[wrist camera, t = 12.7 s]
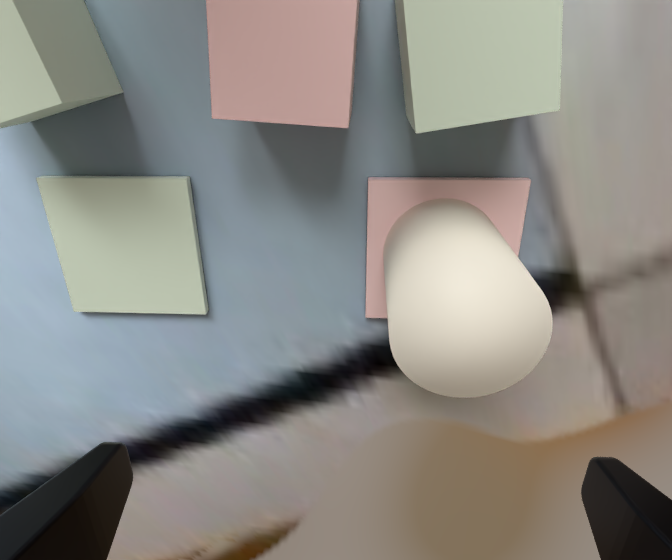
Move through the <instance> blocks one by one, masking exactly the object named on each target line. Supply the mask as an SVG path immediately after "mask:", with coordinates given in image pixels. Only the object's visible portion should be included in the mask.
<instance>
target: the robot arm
mask: <svg viewBox="0 0 672 560" xmlns="http://www.w3.org/2000/svg"><path fill="white" fill-rule="evenodd" d="M132 481H133V471H132V467H131V463H130V459H129V455H128V451H127V448H126V446H125V444H124V443H121V442H103V443H101V444H99V445H98V446H96V447H95V448H94V449H92V450H91V451H89V452H88V453H87V454H85V455H84V456H82V457H81V458H80V459H78V460H77V461H75V462H74V463H73V464H71V465H70V466H68V467H67V468H66V469H64V470H63V471H61V472H60V473H59V474H57V475H56V476H55V477H53V478H52V479H50V480H49V481H48V482H46V483H45V484H43V485H42V486H41V487H39V488H38V489H36V490H35V491H34V492H32V493H31V494H29V495H28V496H27V497H25V498H24V499H22V500H21V501H20V502H18V503H17V504H15V505H14V506H13V507H11V508H10V509H9V510H7V511H6V512H4V513H3V514H2V515H0V560H106V559H107V557H108V554H109V551H110V548H111V545H112V542H113V539H114V536H115V533H116V530H117V527H118V524H119V521H120V518H121V516H122V513H123V510H124V507H125V504H126V501H127V498H128V495H129V492H130V489H131V486H132ZM581 494H582V500H583V504H584V507H585V510H586V513H587V517H588V520H589V523H590V526H591V529H592V533H593V536H594V539H595V542H596V545H597V548H598V552H599V555H600V558H601V560H672V500H671V499H670V498H668V497H667V496H666V495H664V494H663V493H662V492H660V491H659V490H658V489H656V488H655V487H654V486H652V485H651V484H650V483H649V482H647V481H646V480H645V479H643V478H642V477H641V476H639V475H638V474H636V473H635V472H634V471H633V470H631V469H630V468H628V467H627V466H626V465H625V464H623V463H622V462H621V461H619V460H618V459H616V458H612V457H593V458H592V459H591V460H590V462H589V465H588V468H587V471H586V475H585V478H584V481H583V485H582V490H581Z"/></svg>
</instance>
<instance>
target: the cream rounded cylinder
mask: <svg viewBox="0 0 672 560" xmlns="http://www.w3.org/2000/svg"><path fill="white" fill-rule="evenodd" d="M383 263H384V276H385V290H386V303H387V316H388V330H389V342H390V347H391V351H392V354H393V357H394V359H395V361H396V363H397V365H398V366H399V368H400V369H401V370H402V372H403V373H404V374H405V375H406V376H407V377H408V378H409V379H410V380H412V381H413V382H414V383H416V384H417V385H419V386H420V387H422V388H424V389H426V390H428V391H430V392H433V393H436V394H439V395H443V396H448V397H456V398H473V397H481V396H485V395H490V394H493V393H496V392H499V391H502V390H504V389H506V388H508V387H510V386H512V385H514V384H515V383H517V382H519V381H520V380H521V379H523V378H524V377H525V376H527V375H528V374H529V373H530V372H531V371H532V370H533V369H534V368H535V367H536V365H537V364H538V363H539V362H540V360H541V359H542V357H543V356H544V354H545V352H546V350H547V348H548V346H549V342H550V339H551V335H552V328H553V322H552V313H551V308H550V306H549V303H548V300H547V298H546V297H545V295H544V293H543V292H542V290H541V289H540V287H539V286H538V285H537V283H536V282H535V280H534V279H533V278H532V276H531V275H530V274H529V272H528V271H527V269H526V268H525V267H524V265H523V264H522V263H521V261H520V260H519V258H518V257H517V256H516V254H515V253H514V251H513V250H512V249H511V247H510V246H509V245H508V243H507V242H506V240H505V239H504V238H503V236H502V235H501V233H500V232H499V231H498V229H497V228H496V227H495V225H494V224H493V222H492V221H491V220H490V219H489V217H488V216H487V215H486V214H485V213H484V212H483V211H482V210H480V209H479V208H477V207H476V206H474V205H472V204H470V203H468V202H465V201H462V200H458V199H451V198H440V199H433V200H428V201H425V202H422V203H420V204H418V205H415V206H414V207H412V208H410V209H409V210H407V211H406V212H405V213H404V214H402V215H401V216H400V217H399V218H398V219H397V220H396V222H395V223H394V224H393V226H392V227H391V229H390V231H389V232H388V235H387V237H386V240H385V244H384V249H383Z"/></svg>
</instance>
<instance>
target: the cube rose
mask: <svg viewBox="0 0 672 560" xmlns="http://www.w3.org/2000/svg"><path fill="white" fill-rule="evenodd" d="M359 4H360V0H206V8H207V28H208V48H209V68H210V88H211V107H212V119H226V120H240V121H254V122H268V123H282V124H296V125H310V126H324V127H338V128H348V127H349V122H350V118H351V113H352V102H353V88H354V74H355V60H356V46H357V32H358V18H359Z"/></svg>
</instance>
